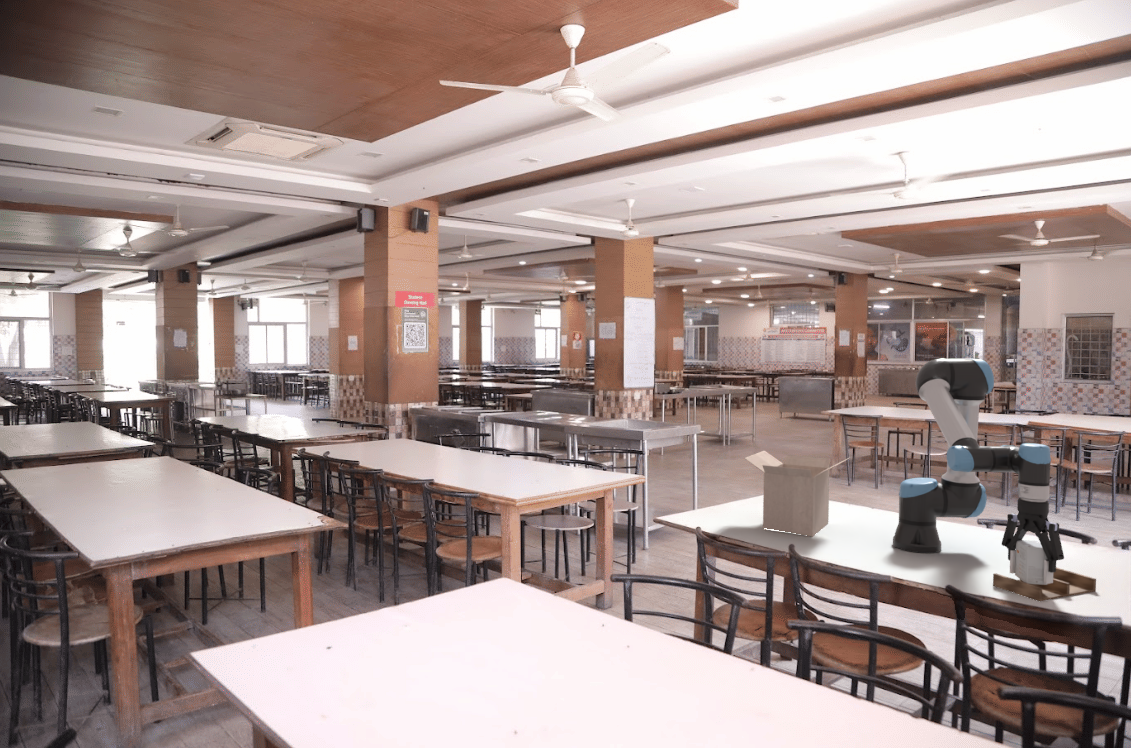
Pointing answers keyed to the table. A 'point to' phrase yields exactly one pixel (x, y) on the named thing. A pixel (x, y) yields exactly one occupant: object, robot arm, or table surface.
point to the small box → (1030, 562)
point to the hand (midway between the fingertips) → (1030, 577)
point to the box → (794, 492)
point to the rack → (1048, 585)
